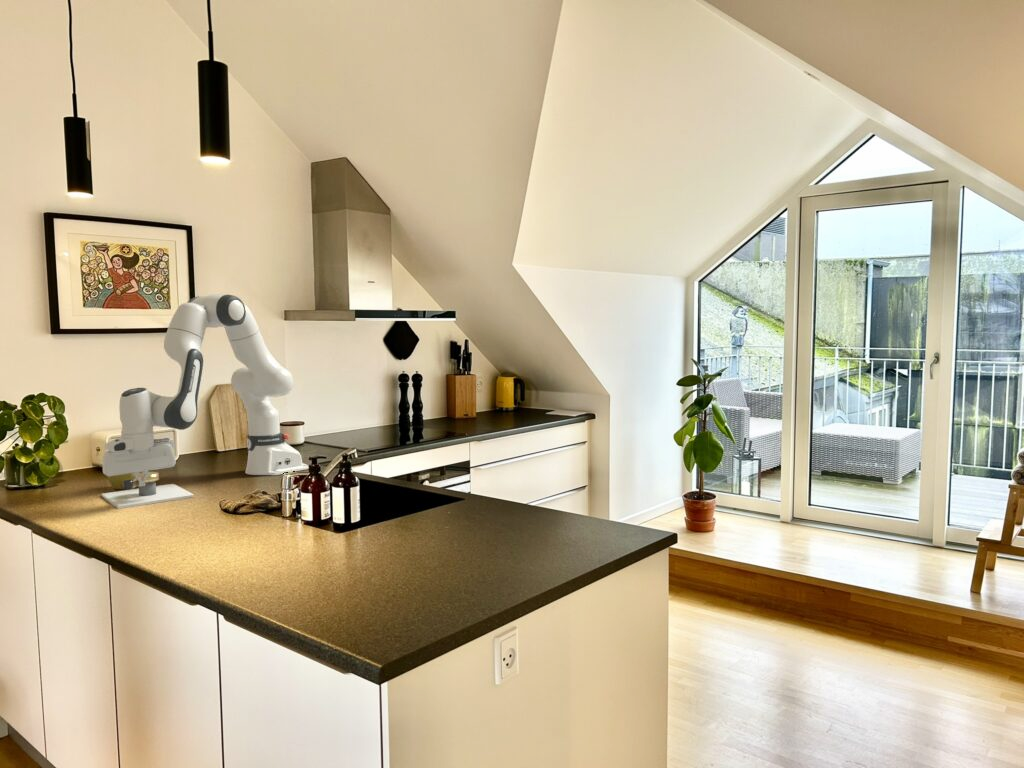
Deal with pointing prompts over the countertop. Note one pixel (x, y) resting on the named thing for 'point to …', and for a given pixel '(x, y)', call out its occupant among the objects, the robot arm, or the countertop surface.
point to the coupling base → (146, 495)
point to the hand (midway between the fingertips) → (141, 485)
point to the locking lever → (132, 483)
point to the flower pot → (119, 480)
